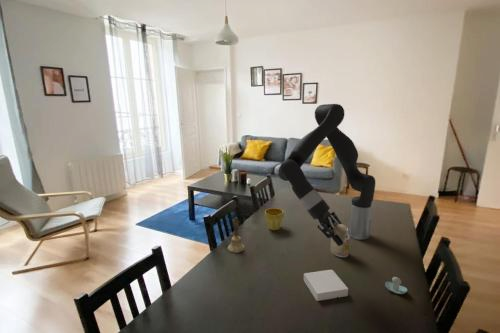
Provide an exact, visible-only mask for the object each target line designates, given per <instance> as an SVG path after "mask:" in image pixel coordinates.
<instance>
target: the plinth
mask: <svg viewBox="0 0 500 333" xmlns="http://www.w3.org/2000/svg"><path fill="white" fill-rule="evenodd" d="M303 281H304V283H305V284H306V286H307V288H308V289H309V291H310V293H311V295H312V296H313V298H314V299H315V301H316V302H320V301H325V300H331V299H337V297H338V298H343V297H348V296H349V288H348V287H347V285H346V284H345V283H344V281H342V279H341V278H340V277H339V275H337V274H336V272H335V271H334V270H333V269H326V270H318V271H313V272H304V273H303Z"/></svg>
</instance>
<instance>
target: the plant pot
mask: <svg viewBox="0 0 500 333" xmlns="http://www.w3.org/2000/svg"><path fill="white" fill-rule="evenodd" d="M264 218H265V219H266V224H267V227H268V229H269V230H271V231H278V230H280V229H281V226H282V222H283V219H284V210H283V209H281V208H278V207H270V208H267V209H265V211H264Z"/></svg>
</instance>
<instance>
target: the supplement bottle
mask: <svg viewBox="0 0 500 333" xmlns="http://www.w3.org/2000/svg"><path fill="white" fill-rule="evenodd" d="M347 236H348V237H347V238H346V245H345V253H344V254H343V255H336V254H334V256H336V257H338V258H346V257H348V256H349V251H350V240H351V236H350V235H349V228H348V227H347Z"/></svg>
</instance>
